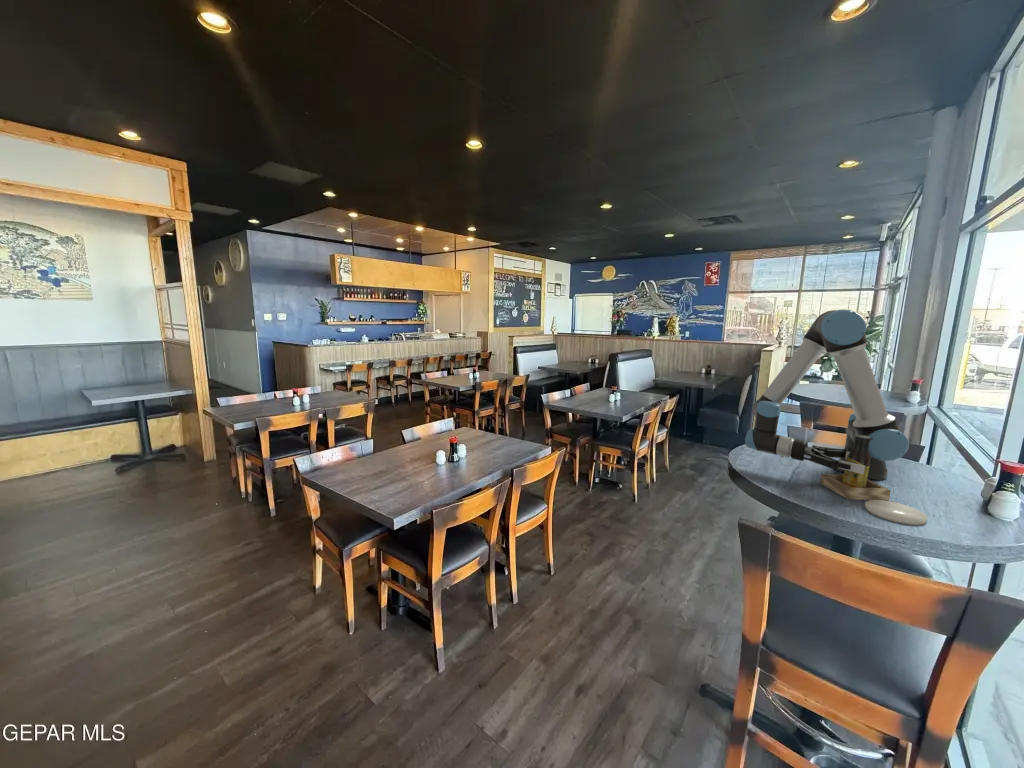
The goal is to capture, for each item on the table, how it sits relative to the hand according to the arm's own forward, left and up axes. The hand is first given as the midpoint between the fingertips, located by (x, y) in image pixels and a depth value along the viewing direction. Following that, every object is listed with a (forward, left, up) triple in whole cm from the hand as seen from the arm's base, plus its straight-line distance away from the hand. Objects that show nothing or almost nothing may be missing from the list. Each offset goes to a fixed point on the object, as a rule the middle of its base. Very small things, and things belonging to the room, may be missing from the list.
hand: (867, 465), depth 138 cm
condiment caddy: (+2, -2, -10) cm, 11 cm away
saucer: (+2, +14, -10) cm, 17 cm away
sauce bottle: (+2, -2, -11) cm, 11 cm away
